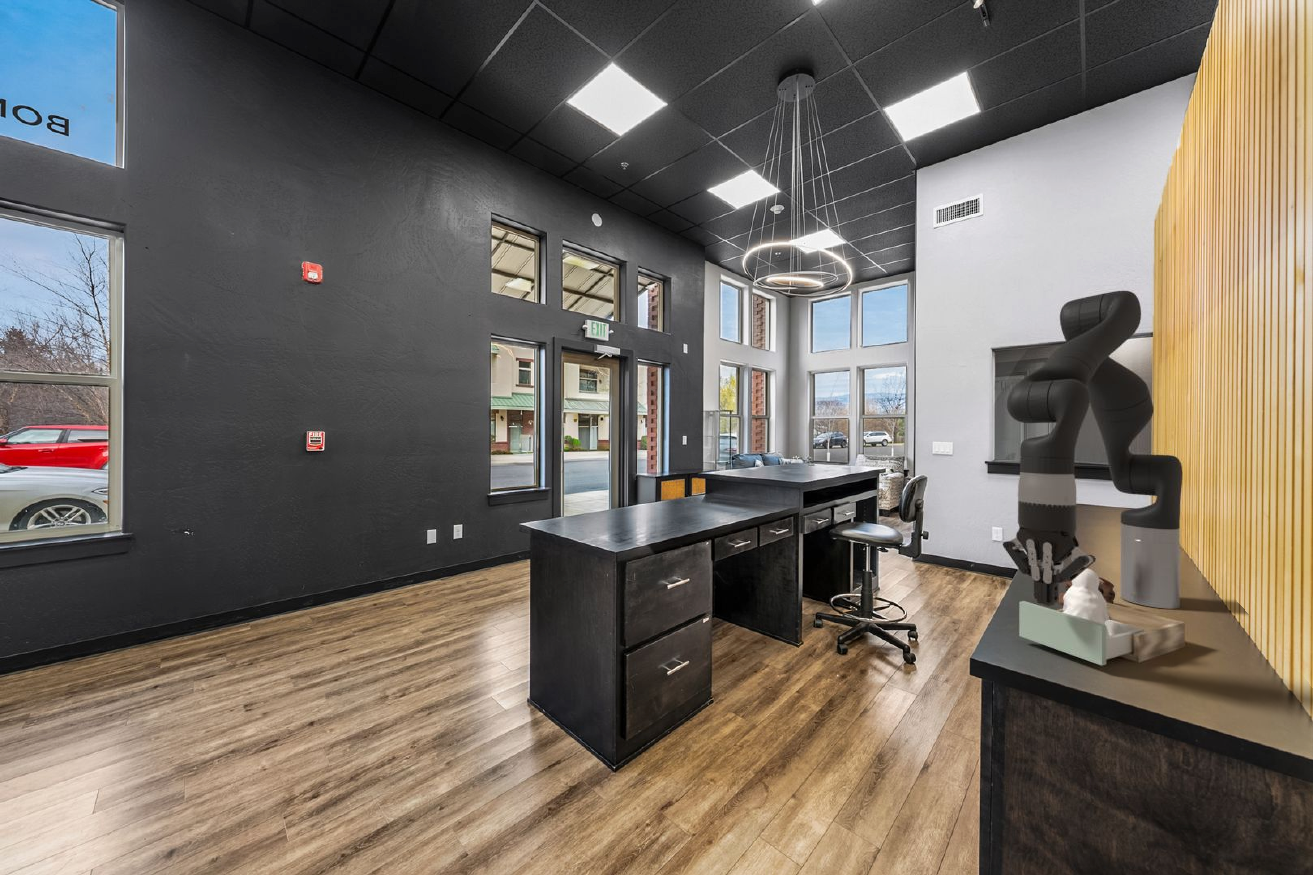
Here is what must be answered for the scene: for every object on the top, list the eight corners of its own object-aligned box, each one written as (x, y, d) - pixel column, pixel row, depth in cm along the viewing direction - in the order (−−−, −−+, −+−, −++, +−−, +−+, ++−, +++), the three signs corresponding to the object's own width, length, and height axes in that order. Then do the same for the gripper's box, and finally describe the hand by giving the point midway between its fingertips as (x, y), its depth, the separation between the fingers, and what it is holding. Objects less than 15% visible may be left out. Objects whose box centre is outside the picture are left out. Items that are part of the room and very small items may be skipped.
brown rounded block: (1044, 599, 109) (1055, 566, 111) (1085, 619, 108) (1096, 586, 109) (1087, 606, 98) (1100, 569, 99) (1134, 629, 96) (1146, 592, 98)
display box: (1138, 662, 78) (1138, 635, 78) (1053, 634, 90) (1053, 610, 90) (1184, 647, 84) (1184, 622, 84) (1099, 622, 95) (1099, 600, 95)
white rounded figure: (1057, 638, 83) (1057, 570, 83) (1063, 625, 89) (1063, 561, 89) (1107, 650, 78) (1107, 577, 78) (1110, 635, 84) (1110, 568, 84)
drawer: (1101, 665, 75) (1101, 626, 75) (1019, 635, 86) (1019, 601, 86) (1151, 650, 80) (1151, 613, 80) (1067, 624, 91) (1067, 592, 91)
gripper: (1109, 504, 74) (1108, 615, 74) (1018, 495, 87) (1017, 589, 87) (1080, 506, 72) (1080, 621, 71) (990, 496, 84) (990, 594, 84)
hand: (1045, 603), depth 79 cm, fingers closed
